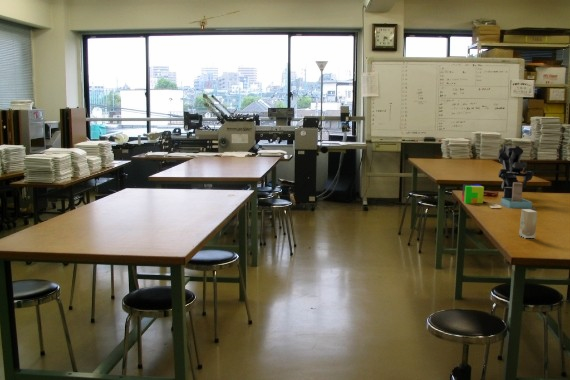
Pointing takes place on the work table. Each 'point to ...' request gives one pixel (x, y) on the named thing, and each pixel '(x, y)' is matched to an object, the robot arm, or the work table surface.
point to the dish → (516, 203)
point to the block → (517, 192)
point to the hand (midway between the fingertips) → (516, 186)
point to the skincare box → (528, 223)
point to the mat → (515, 208)
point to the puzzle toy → (472, 194)
